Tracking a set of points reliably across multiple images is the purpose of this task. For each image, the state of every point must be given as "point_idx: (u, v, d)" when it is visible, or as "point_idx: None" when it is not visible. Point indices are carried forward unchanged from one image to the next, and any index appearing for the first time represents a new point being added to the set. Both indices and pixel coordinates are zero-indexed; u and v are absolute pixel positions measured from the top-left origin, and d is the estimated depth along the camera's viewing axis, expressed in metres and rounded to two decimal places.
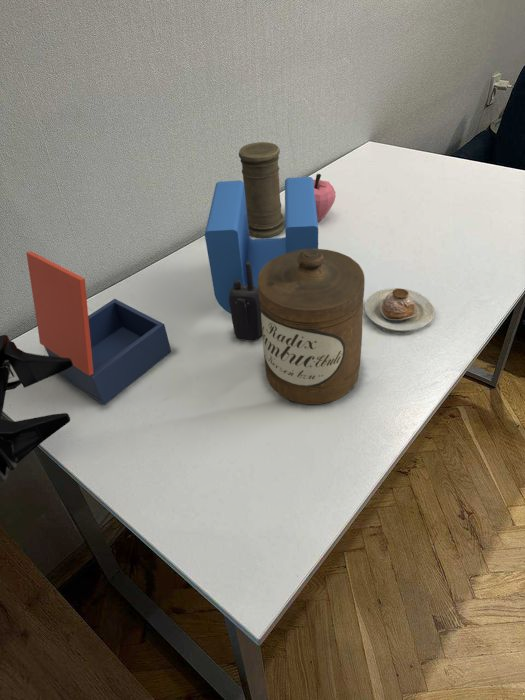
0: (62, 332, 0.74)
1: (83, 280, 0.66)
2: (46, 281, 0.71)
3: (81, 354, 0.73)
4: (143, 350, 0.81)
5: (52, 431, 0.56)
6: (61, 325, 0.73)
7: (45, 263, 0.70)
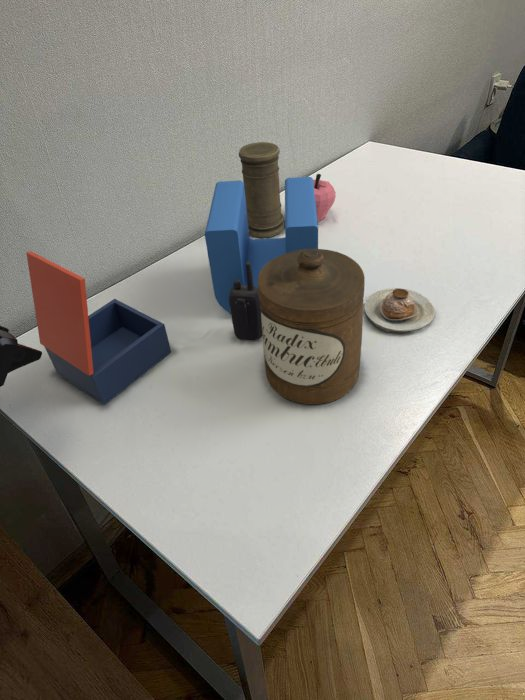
0: (62, 332, 0.74)
1: (83, 280, 0.66)
2: (46, 281, 0.71)
3: (81, 354, 0.73)
4: (143, 350, 0.81)
5: (28, 361, 0.66)
6: (61, 325, 0.73)
7: (45, 263, 0.70)
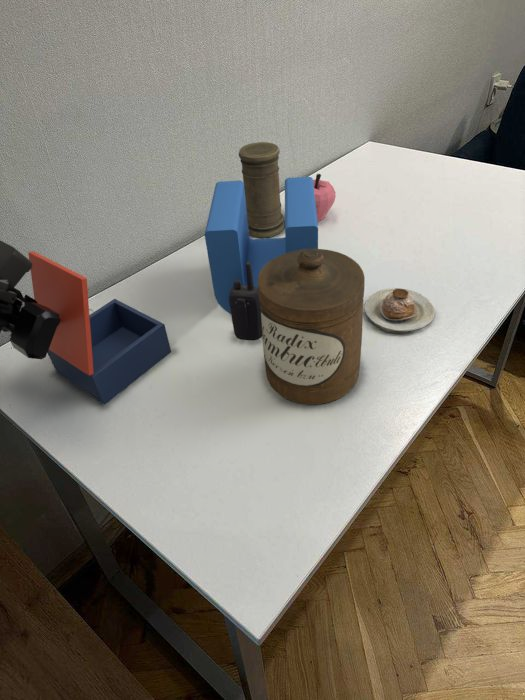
0: (63, 332, 0.74)
1: (85, 279, 0.67)
2: (48, 281, 0.72)
3: (82, 354, 0.73)
4: (143, 350, 0.81)
5: None
6: (62, 325, 0.73)
7: (47, 262, 0.70)
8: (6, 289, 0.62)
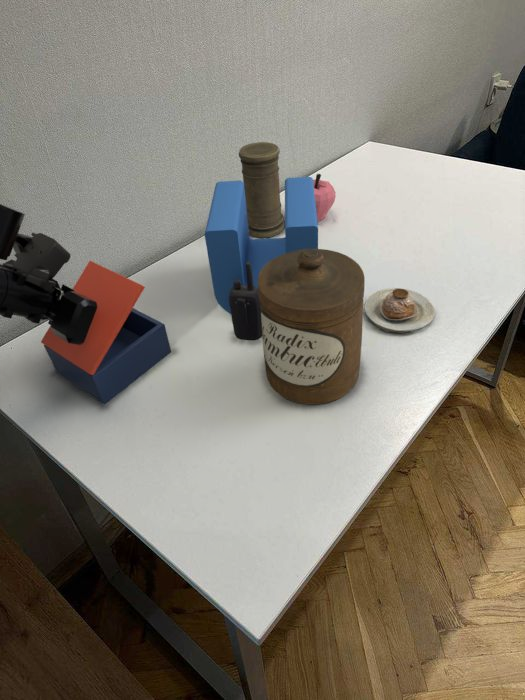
0: None
1: (143, 287, 0.75)
2: (97, 284, 0.79)
3: (95, 352, 0.74)
4: (143, 350, 0.81)
5: None
6: None
7: (108, 270, 0.79)
8: (47, 278, 0.66)
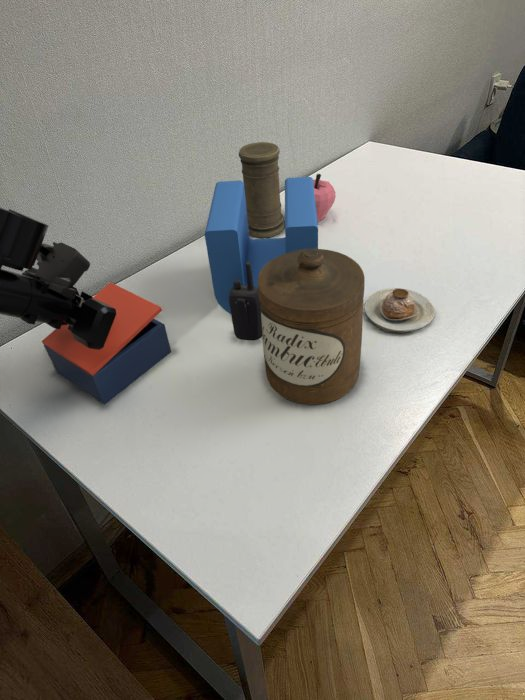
0: None
1: (161, 310, 0.80)
2: (114, 301, 0.83)
3: (100, 355, 0.76)
4: (143, 350, 0.81)
5: None
6: None
7: (128, 291, 0.84)
8: (68, 286, 0.69)
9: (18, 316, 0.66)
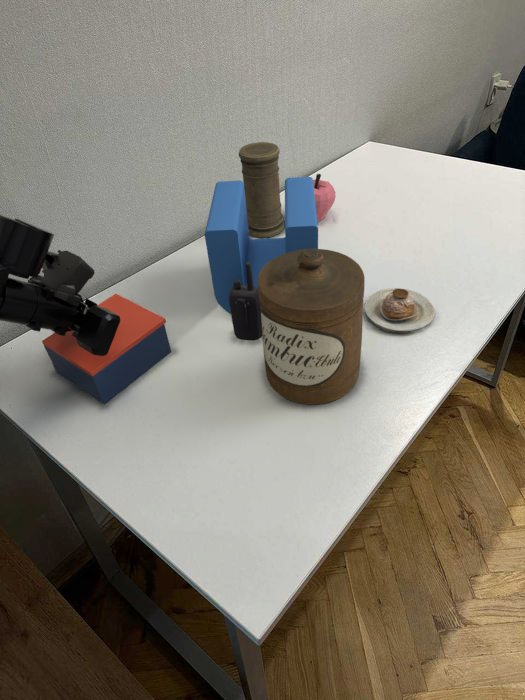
0: None
1: (165, 321, 0.82)
2: (118, 310, 0.84)
3: (102, 357, 0.76)
4: (143, 350, 0.81)
5: None
6: None
7: (133, 302, 0.86)
8: (73, 294, 0.70)
9: (24, 323, 0.67)
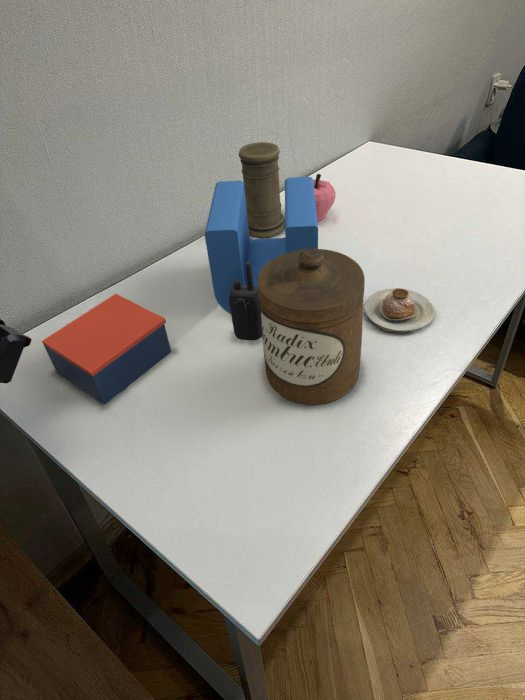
0: (93, 339, 0.79)
1: (165, 321, 0.82)
2: (118, 310, 0.84)
3: (102, 357, 0.76)
4: (143, 350, 0.81)
5: None
6: (99, 336, 0.80)
7: (133, 302, 0.86)
8: None
9: None
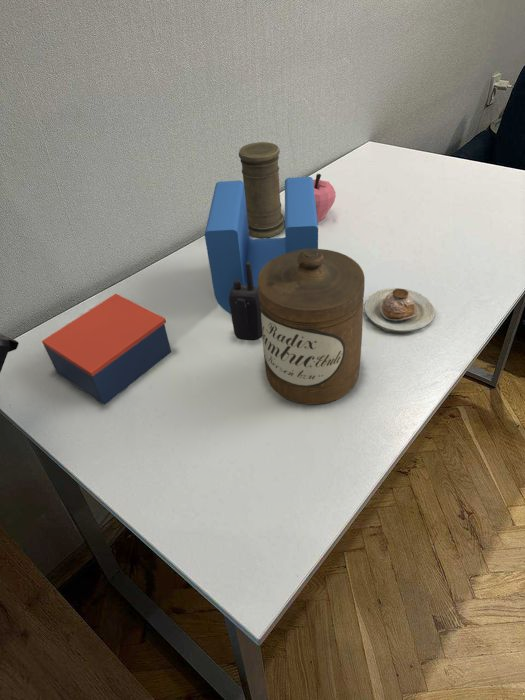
0: (93, 339, 0.79)
1: (165, 321, 0.82)
2: (118, 310, 0.84)
3: (102, 357, 0.76)
4: (143, 350, 0.81)
5: None
6: (99, 336, 0.80)
7: (133, 302, 0.86)
8: None
9: None
